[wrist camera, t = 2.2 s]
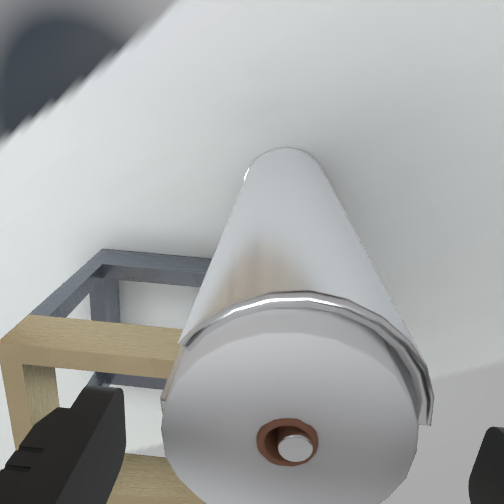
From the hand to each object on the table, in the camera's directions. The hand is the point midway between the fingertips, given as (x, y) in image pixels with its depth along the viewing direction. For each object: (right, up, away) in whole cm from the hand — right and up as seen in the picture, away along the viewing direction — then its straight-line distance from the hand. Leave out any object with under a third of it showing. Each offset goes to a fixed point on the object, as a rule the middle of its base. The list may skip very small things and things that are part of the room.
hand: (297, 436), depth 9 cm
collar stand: (-8, -1, +28) cm, 29 cm away
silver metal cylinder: (+1, +9, +23) cm, 25 cm away
